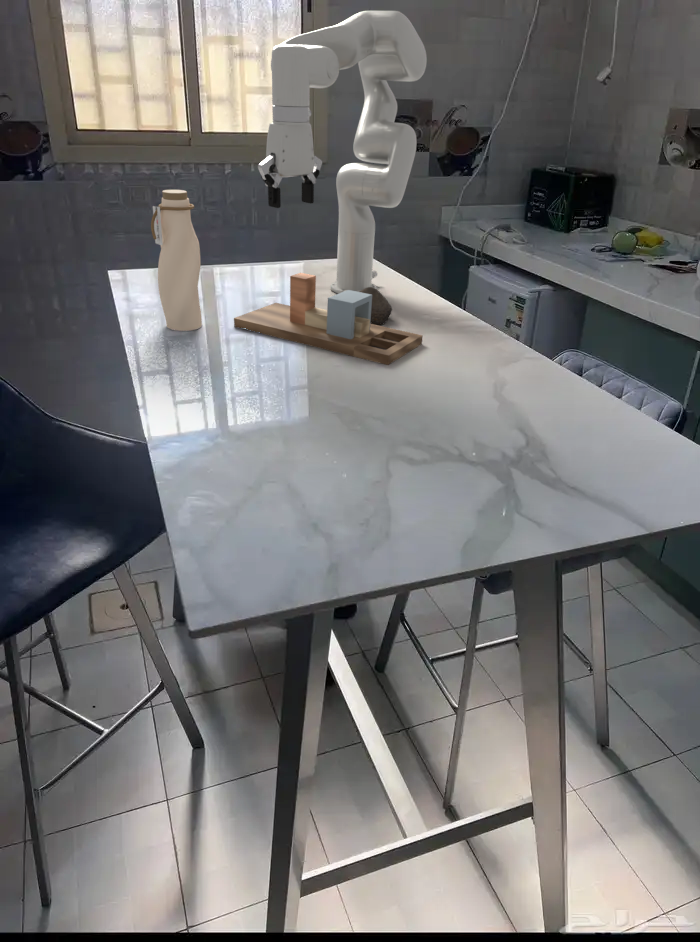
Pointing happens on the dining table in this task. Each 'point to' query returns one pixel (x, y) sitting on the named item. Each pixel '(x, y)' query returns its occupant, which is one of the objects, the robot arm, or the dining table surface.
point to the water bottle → (177, 261)
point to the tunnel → (347, 312)
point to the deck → (372, 346)
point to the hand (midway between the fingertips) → (291, 204)
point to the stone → (378, 306)
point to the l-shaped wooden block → (305, 305)
